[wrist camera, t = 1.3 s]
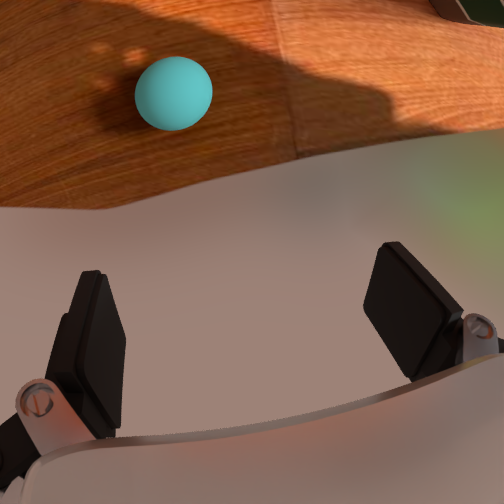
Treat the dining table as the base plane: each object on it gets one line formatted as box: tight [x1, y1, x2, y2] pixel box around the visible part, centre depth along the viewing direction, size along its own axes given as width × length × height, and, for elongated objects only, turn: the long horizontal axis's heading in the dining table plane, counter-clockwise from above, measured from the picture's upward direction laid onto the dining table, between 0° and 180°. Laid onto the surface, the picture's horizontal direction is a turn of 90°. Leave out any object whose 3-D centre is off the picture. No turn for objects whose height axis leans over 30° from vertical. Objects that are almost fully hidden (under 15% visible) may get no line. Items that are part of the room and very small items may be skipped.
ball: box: [135, 57, 212, 131], centre depth 22 cm, size 6×6×6 cm
